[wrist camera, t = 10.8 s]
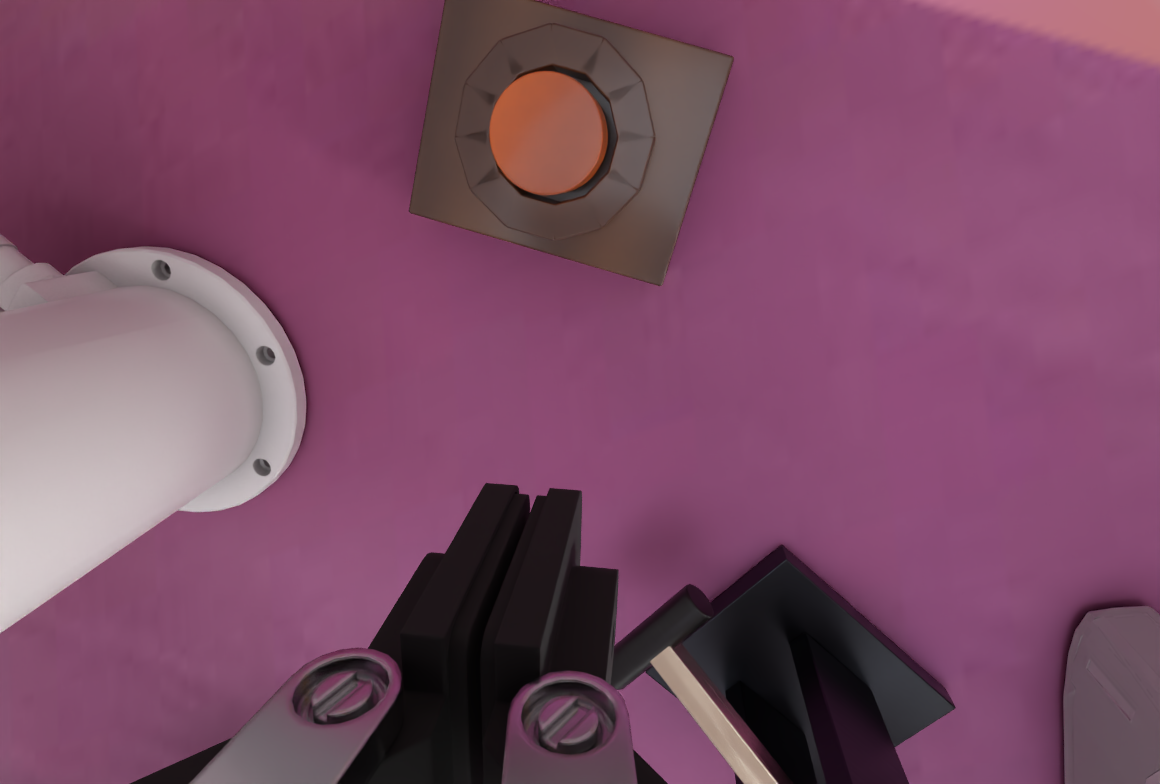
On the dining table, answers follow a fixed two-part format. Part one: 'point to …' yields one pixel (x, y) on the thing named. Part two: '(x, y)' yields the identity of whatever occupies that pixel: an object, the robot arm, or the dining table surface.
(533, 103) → the button
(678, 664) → the switch lever
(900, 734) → the switch bracket
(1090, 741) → the digital camera
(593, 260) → the button block
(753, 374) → the dining table surface
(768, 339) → the dining table surface
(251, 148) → the dining table surface
